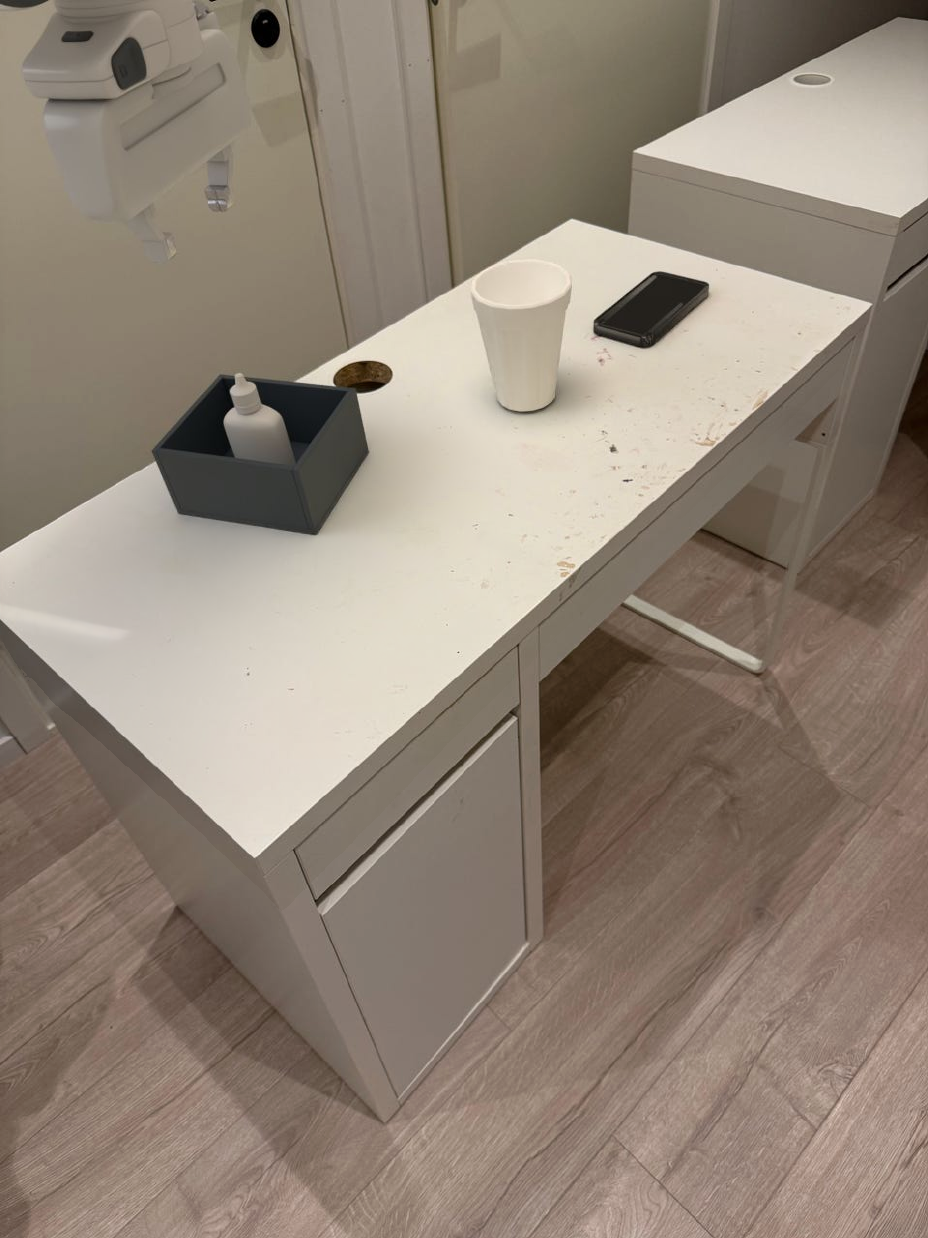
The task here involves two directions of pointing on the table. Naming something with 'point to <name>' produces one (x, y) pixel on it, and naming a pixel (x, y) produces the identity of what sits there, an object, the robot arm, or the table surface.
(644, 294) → the phone
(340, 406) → the bin
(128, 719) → the table surface
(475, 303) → the cup
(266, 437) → the eye dropper bottle
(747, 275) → the table surface
